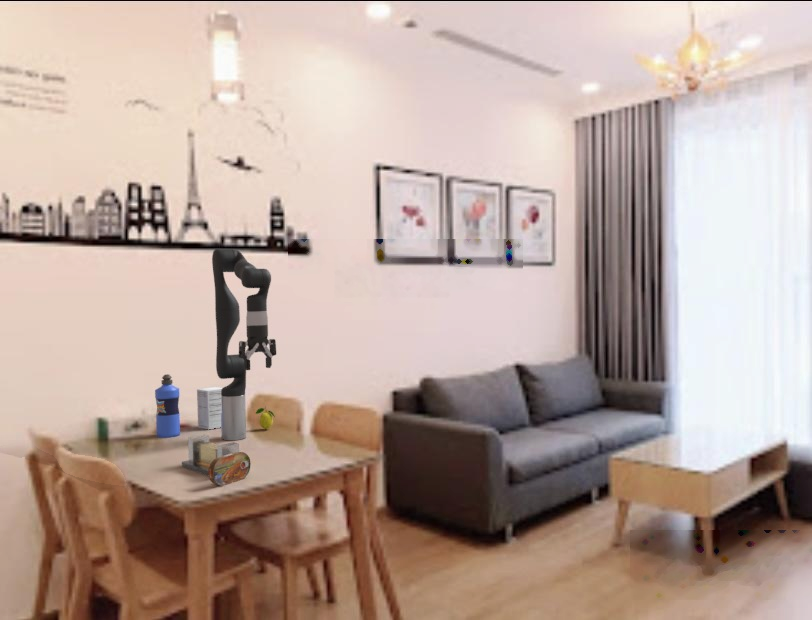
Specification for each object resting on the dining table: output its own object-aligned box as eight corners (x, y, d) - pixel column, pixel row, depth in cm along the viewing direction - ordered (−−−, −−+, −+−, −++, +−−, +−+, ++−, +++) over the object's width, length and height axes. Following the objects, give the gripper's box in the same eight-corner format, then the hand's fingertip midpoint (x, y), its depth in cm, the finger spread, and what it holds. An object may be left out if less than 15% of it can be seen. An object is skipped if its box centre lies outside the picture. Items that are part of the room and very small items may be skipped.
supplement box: (228, 426, 290) (227, 388, 290) (208, 430, 283) (207, 390, 283) (216, 424, 297) (215, 386, 296) (197, 427, 290) (196, 388, 289)
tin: (214, 488, 196) (213, 460, 196) (206, 487, 197) (206, 459, 197) (251, 476, 208) (251, 449, 208) (244, 475, 210) (243, 448, 210)
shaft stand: (181, 465, 223) (180, 437, 223) (208, 460, 230) (208, 432, 230) (219, 479, 205) (218, 448, 205) (247, 473, 212) (247, 443, 212)
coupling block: (229, 465, 215) (228, 447, 215) (217, 468, 212) (217, 449, 212) (210, 460, 224) (210, 441, 223) (199, 462, 221) (198, 443, 221)
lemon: (255, 429, 283) (255, 406, 282) (267, 427, 287) (267, 404, 286) (264, 431, 278) (263, 407, 277) (276, 429, 282) (275, 406, 281)
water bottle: (171, 432, 280) (169, 372, 280) (185, 434, 275) (183, 374, 274) (151, 436, 273) (149, 375, 272) (165, 438, 267) (163, 376, 267)
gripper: (268, 323, 248) (269, 366, 249) (234, 324, 238) (235, 370, 239) (279, 323, 243) (280, 367, 243) (245, 325, 233) (246, 371, 233)
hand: (258, 368), depth 241 cm, fingers open, 8 cm apart
